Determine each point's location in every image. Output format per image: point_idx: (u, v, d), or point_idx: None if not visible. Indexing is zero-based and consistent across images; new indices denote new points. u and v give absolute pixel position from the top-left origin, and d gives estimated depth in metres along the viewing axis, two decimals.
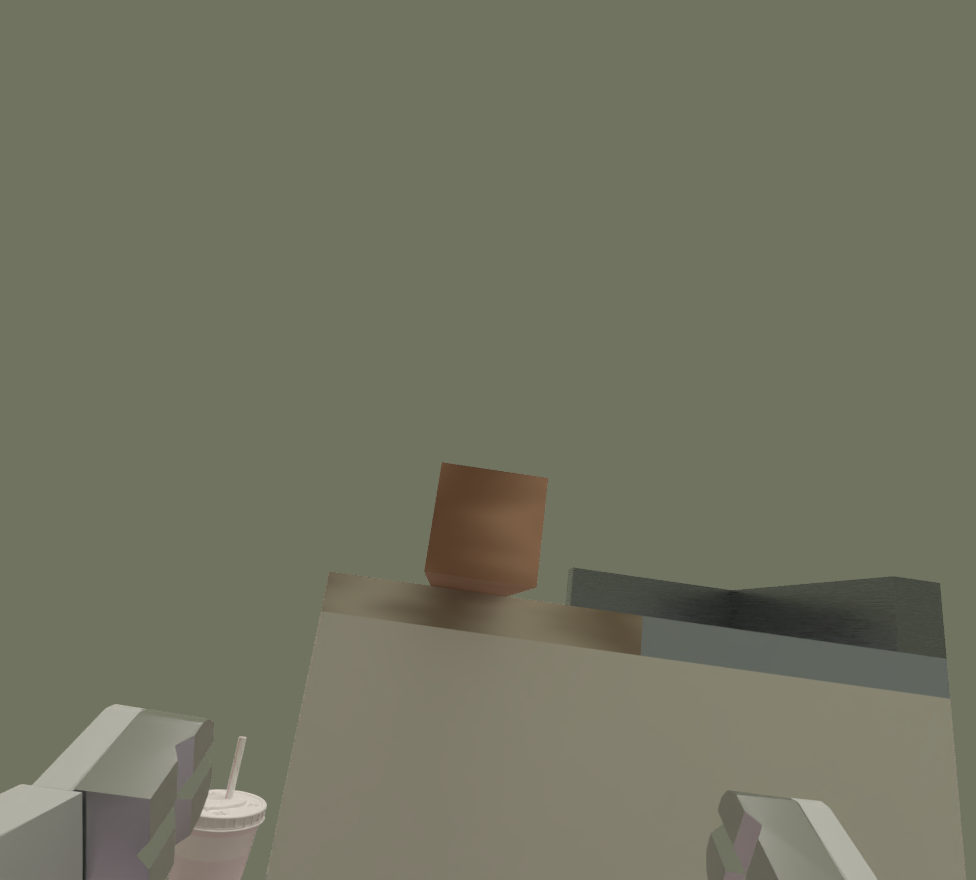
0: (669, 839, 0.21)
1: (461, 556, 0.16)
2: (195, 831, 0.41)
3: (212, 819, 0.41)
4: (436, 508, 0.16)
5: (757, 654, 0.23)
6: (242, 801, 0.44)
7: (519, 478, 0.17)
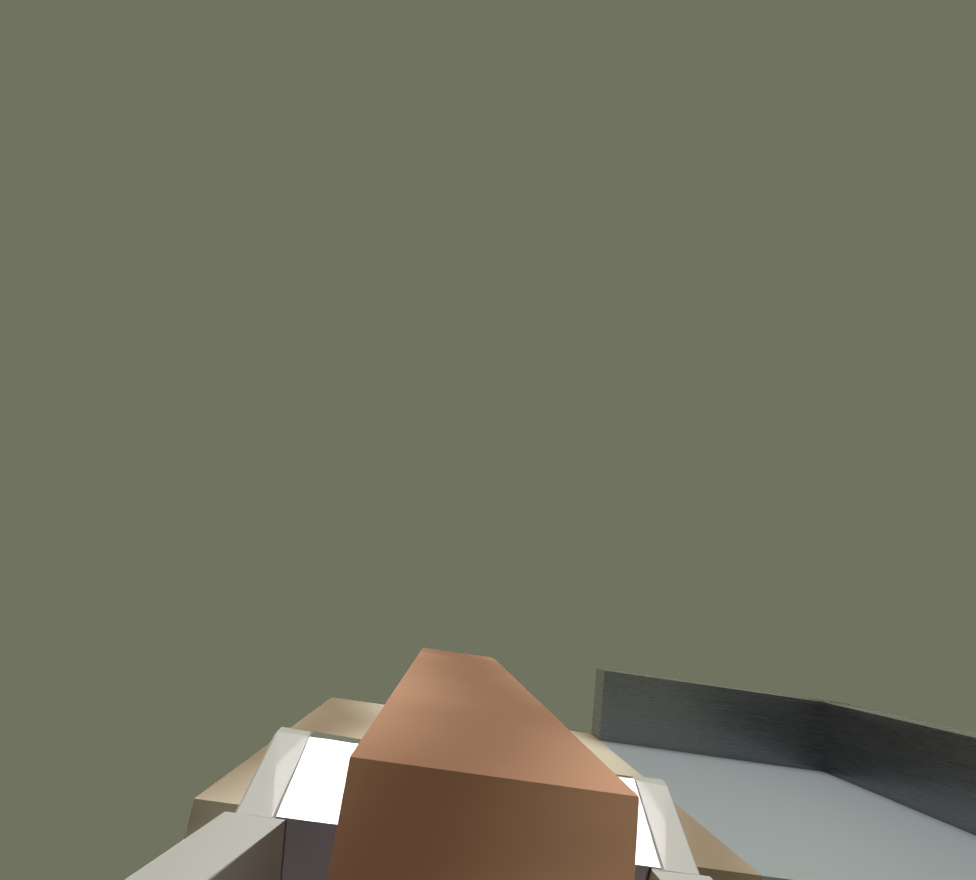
0: None
1: None
2: None
3: None
4: None
5: None
6: None
7: (562, 801, 0.06)
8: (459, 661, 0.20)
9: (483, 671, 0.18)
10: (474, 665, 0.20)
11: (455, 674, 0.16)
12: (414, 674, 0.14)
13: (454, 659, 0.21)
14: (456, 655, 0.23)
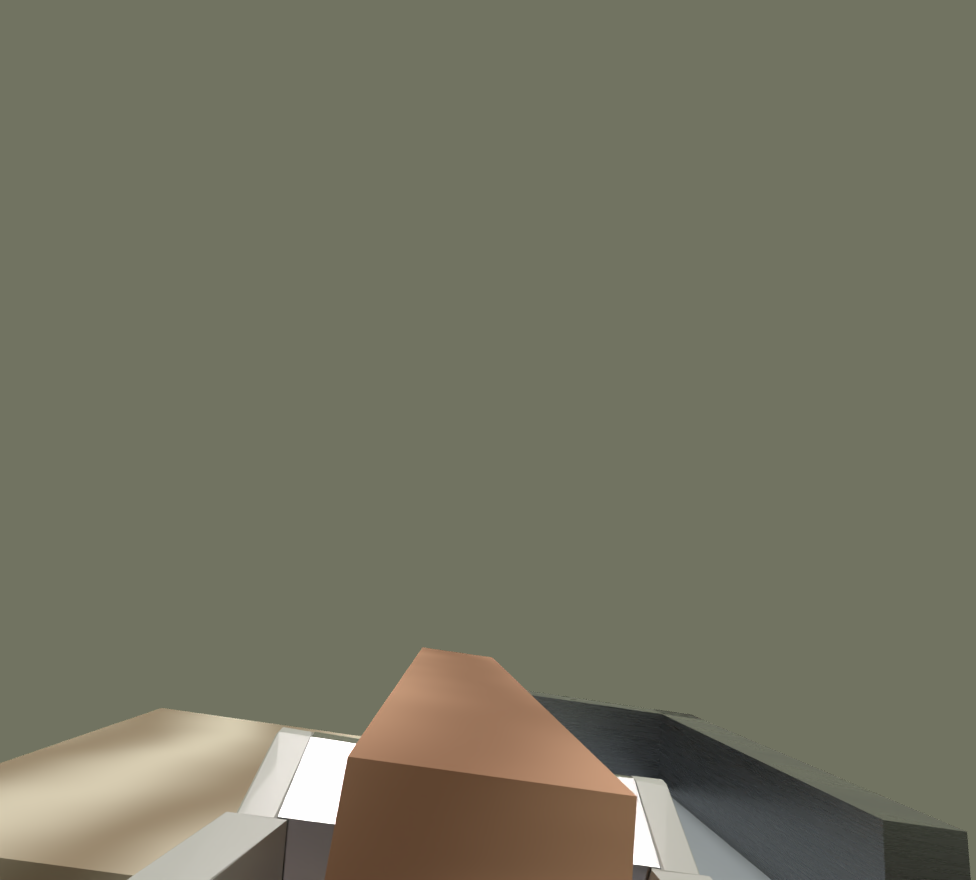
0: None
1: None
2: None
3: None
4: None
5: None
6: None
7: (559, 801, 0.06)
8: (458, 661, 0.20)
9: (482, 671, 0.18)
10: (473, 665, 0.20)
11: (454, 674, 0.16)
12: (413, 674, 0.14)
13: (453, 659, 0.21)
14: (455, 655, 0.23)
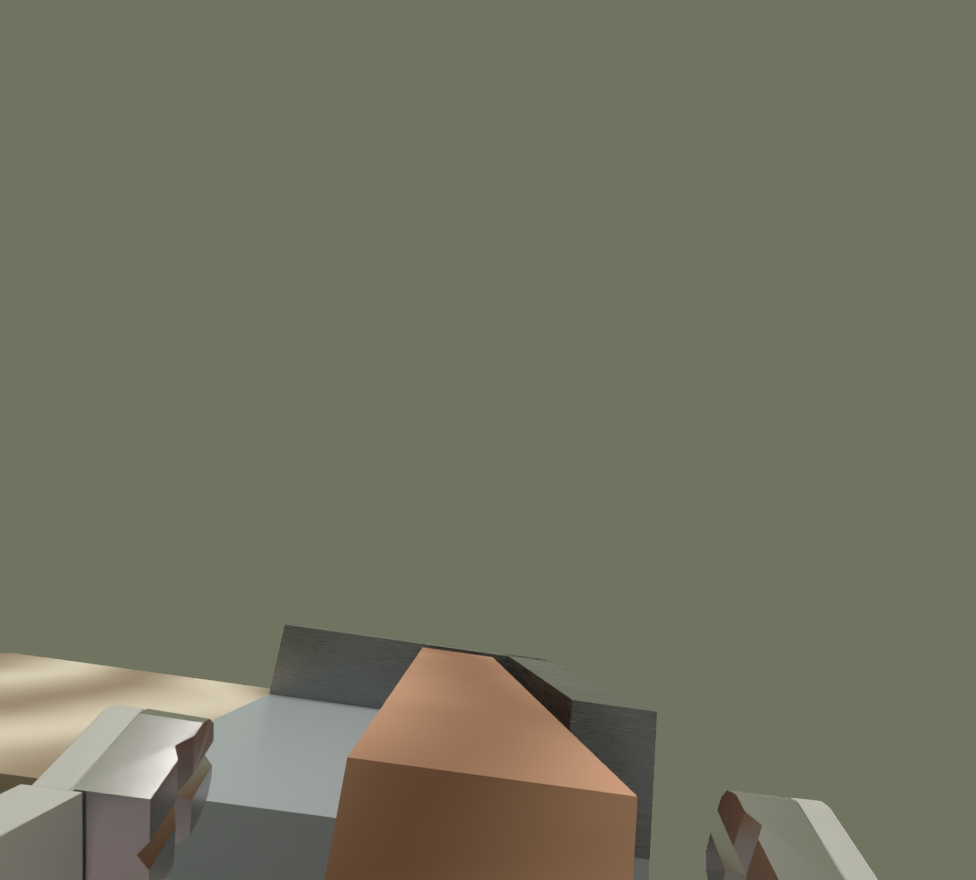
0: None
1: None
2: None
3: None
4: None
5: (283, 857, 0.13)
6: None
7: (560, 801, 0.06)
8: (459, 661, 0.20)
9: (482, 671, 0.18)
10: (474, 665, 0.20)
11: (454, 674, 0.16)
12: (413, 674, 0.14)
13: (454, 659, 0.21)
14: (456, 655, 0.23)
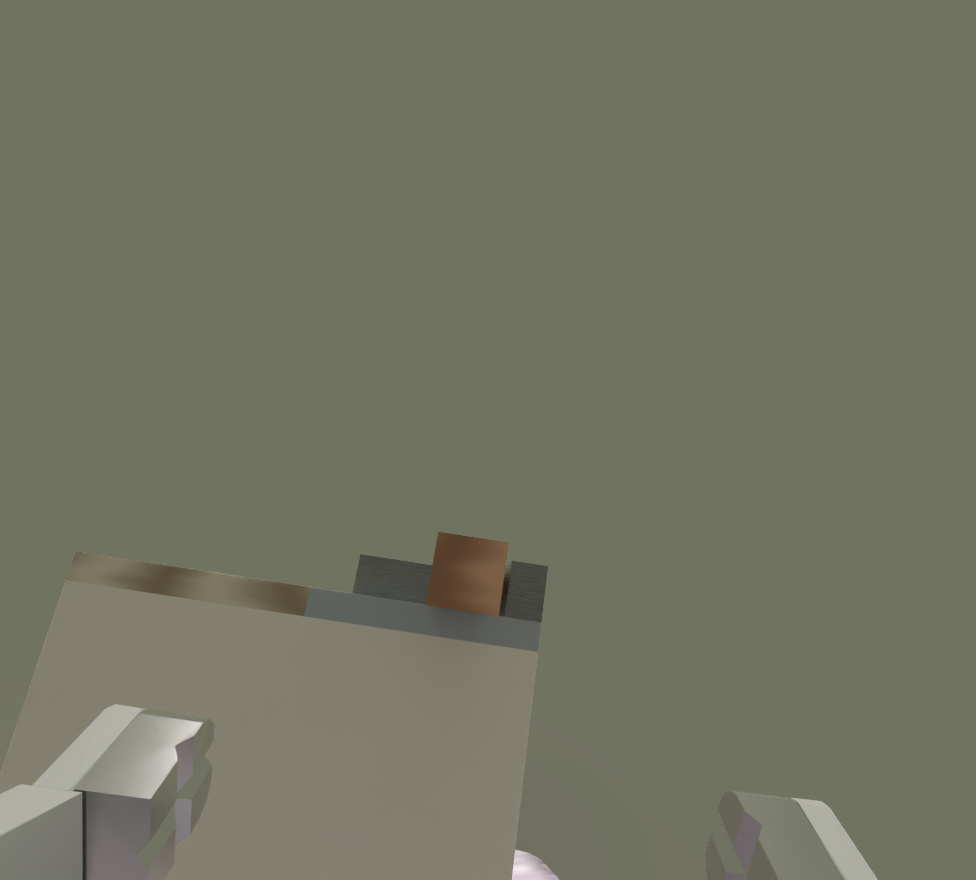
0: (303, 747, 0.29)
1: (450, 595, 0.24)
2: None
3: None
4: (434, 563, 0.24)
5: (394, 616, 0.31)
6: None
7: (489, 543, 0.25)
8: None
9: None
10: None
11: None
12: None
13: None
14: None
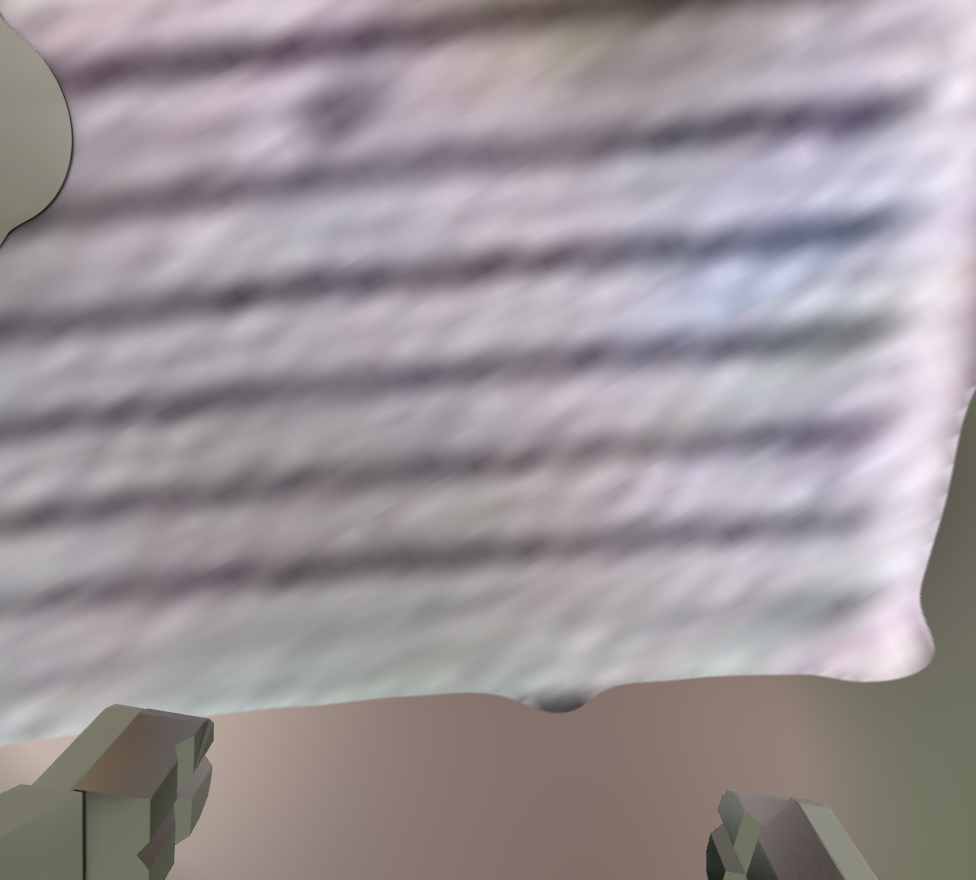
0: None
1: None
2: None
3: None
4: None
5: None
6: None
7: None
8: None
9: None
10: None
11: None
12: None
13: None
14: None
